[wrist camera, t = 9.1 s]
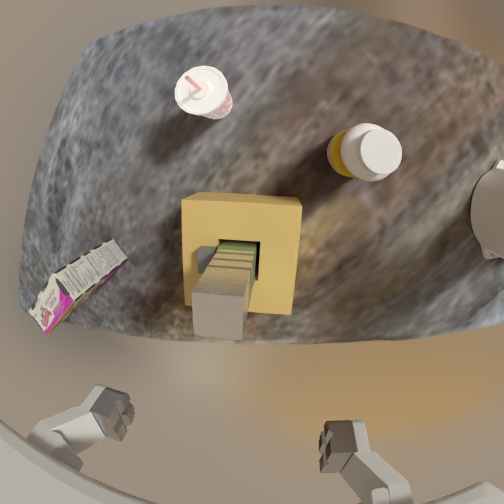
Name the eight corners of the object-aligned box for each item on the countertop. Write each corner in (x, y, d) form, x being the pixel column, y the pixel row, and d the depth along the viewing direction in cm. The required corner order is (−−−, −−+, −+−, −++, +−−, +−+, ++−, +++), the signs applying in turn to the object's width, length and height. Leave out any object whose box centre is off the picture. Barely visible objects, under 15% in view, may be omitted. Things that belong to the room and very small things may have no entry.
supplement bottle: (335, 183, 37) (363, 193, 25) (318, 139, 36) (339, 129, 23) (376, 168, 36) (417, 174, 24) (360, 125, 34) (397, 112, 22)
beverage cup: (231, 79, 34) (209, 42, 21) (243, 116, 35) (226, 93, 22) (191, 93, 35) (151, 65, 22) (202, 130, 36) (165, 116, 23)
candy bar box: (98, 291, 47) (46, 337, 31) (82, 271, 46) (26, 311, 30) (131, 258, 44) (74, 303, 28) (113, 235, 43) (50, 272, 27)
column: (258, 237, 36) (245, 295, 20) (256, 268, 37) (243, 341, 22) (225, 235, 36) (190, 290, 21) (225, 266, 37) (193, 335, 22)
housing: (297, 197, 38) (303, 208, 30) (288, 289, 43) (291, 322, 34) (197, 192, 39) (175, 201, 30) (198, 282, 44) (180, 311, 35)
